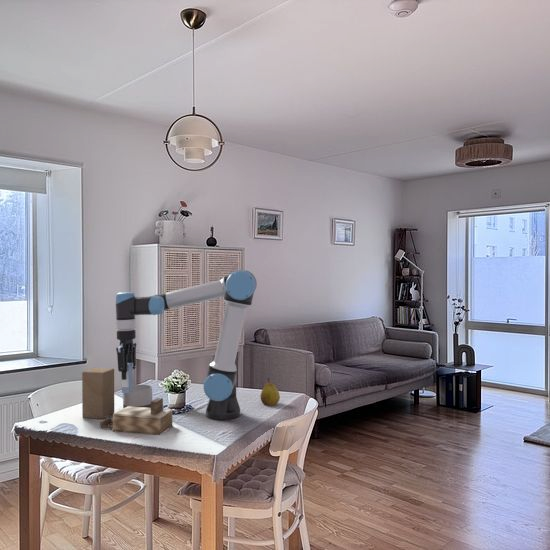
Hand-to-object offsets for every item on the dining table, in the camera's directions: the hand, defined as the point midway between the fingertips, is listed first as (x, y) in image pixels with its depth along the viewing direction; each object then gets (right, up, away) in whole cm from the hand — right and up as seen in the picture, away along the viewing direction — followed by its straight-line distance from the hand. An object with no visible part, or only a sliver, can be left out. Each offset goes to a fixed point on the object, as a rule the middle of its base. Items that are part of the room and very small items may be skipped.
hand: (127, 385), depth 217 cm
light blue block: (0, -3, 0) cm, 3 cm away
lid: (+8, -10, -7) cm, 14 cm away
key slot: (-5, -16, -4) cm, 17 cm away
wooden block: (-16, -16, +12) cm, 26 cm away
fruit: (+59, -16, +31) cm, 68 cm away
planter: (-1, -16, +20) cm, 26 cm away
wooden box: (+8, -16, -7) cm, 19 cm away
